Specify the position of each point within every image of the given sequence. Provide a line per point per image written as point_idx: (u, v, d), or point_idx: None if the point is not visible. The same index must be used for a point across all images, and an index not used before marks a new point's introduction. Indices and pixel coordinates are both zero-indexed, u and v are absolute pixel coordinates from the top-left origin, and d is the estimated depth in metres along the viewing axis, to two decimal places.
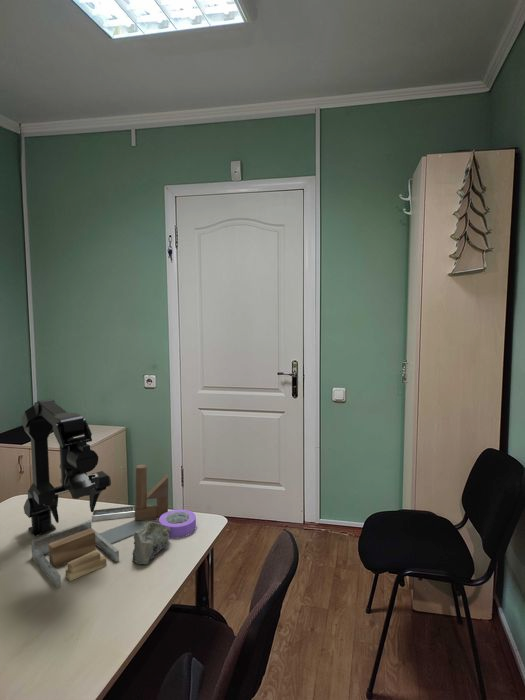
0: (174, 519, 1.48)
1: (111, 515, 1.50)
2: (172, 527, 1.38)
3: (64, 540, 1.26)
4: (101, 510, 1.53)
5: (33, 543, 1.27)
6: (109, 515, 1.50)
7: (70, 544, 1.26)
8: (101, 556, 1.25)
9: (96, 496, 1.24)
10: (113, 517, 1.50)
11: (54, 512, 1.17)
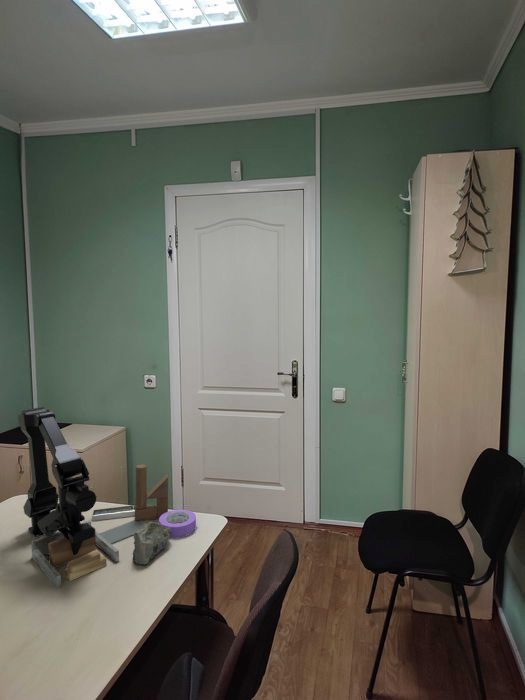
0: (174, 519, 1.48)
1: (111, 514, 1.51)
2: (172, 527, 1.38)
3: (65, 540, 1.26)
4: (101, 510, 1.53)
5: (33, 543, 1.27)
6: (109, 514, 1.50)
7: (70, 544, 1.26)
8: (101, 556, 1.25)
9: (70, 542, 1.25)
10: (113, 516, 1.51)
11: None
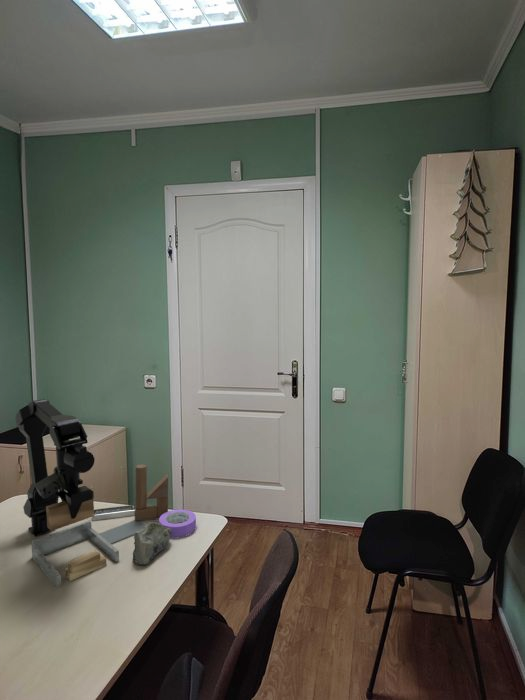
0: (174, 519, 1.48)
1: (111, 514, 1.51)
2: (172, 527, 1.38)
3: (62, 503, 1.25)
4: (101, 509, 1.53)
5: (33, 543, 1.27)
6: (109, 514, 1.51)
7: (68, 507, 1.25)
8: (101, 556, 1.25)
9: (68, 505, 1.24)
10: (113, 516, 1.51)
11: None
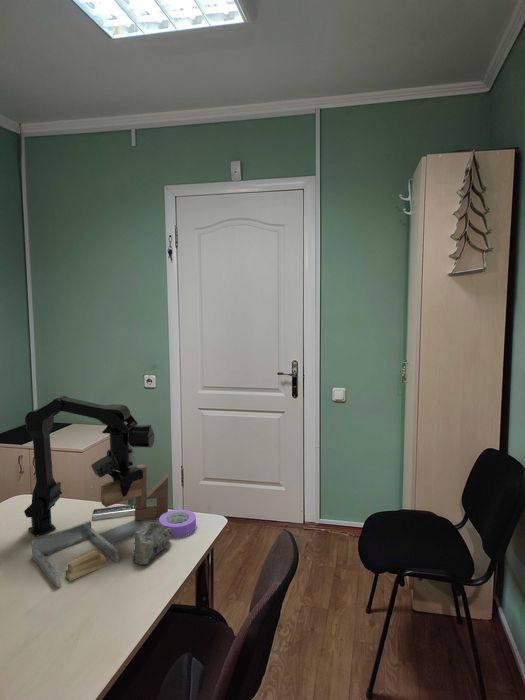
0: (174, 519, 1.48)
1: (111, 514, 1.51)
2: (172, 527, 1.38)
3: (115, 482, 1.38)
4: (101, 509, 1.53)
5: (33, 543, 1.27)
6: (110, 513, 1.51)
7: (119, 486, 1.38)
8: (101, 556, 1.25)
9: (121, 484, 1.37)
10: (113, 516, 1.51)
11: None
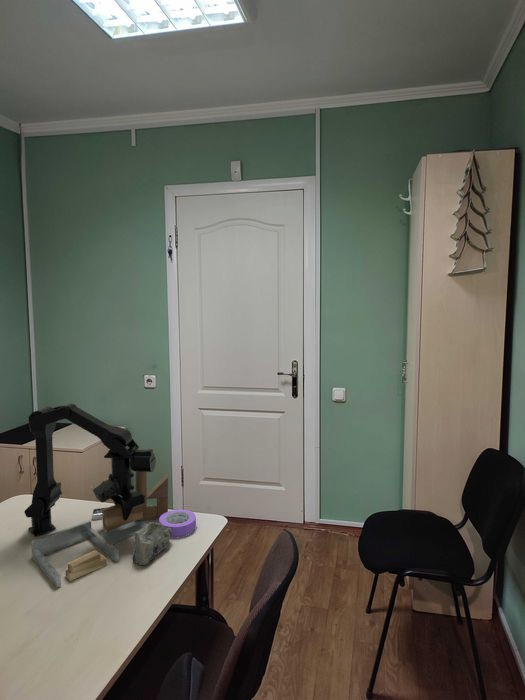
0: (174, 519, 1.48)
1: None
2: (172, 527, 1.38)
3: (116, 506, 1.40)
4: (101, 509, 1.53)
5: (33, 543, 1.27)
6: None
7: (121, 510, 1.39)
8: (101, 556, 1.25)
9: (122, 508, 1.38)
10: None
11: None
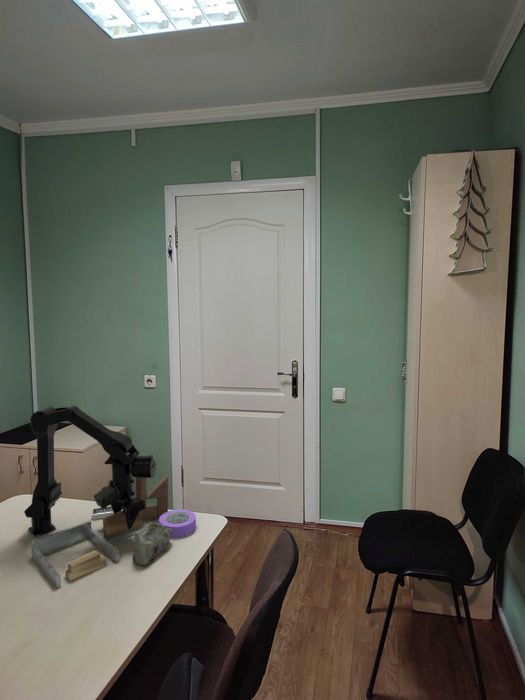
0: (174, 519, 1.48)
1: (111, 513, 1.52)
2: (172, 527, 1.38)
3: (117, 515, 1.40)
4: (101, 509, 1.54)
5: (33, 543, 1.27)
6: (110, 513, 1.51)
7: (121, 518, 1.39)
8: (101, 556, 1.25)
9: (126, 516, 1.37)
10: None
11: (112, 509, 1.44)
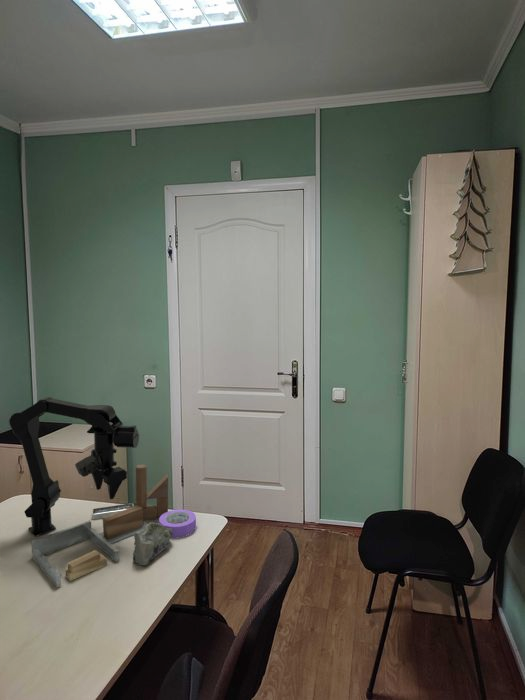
0: (174, 519, 1.48)
1: (111, 513, 1.52)
2: (172, 527, 1.38)
3: (117, 515, 1.40)
4: (100, 508, 1.54)
5: (33, 543, 1.27)
6: (110, 512, 1.52)
7: (121, 518, 1.39)
8: (101, 556, 1.25)
9: (108, 486, 1.36)
10: None
11: None
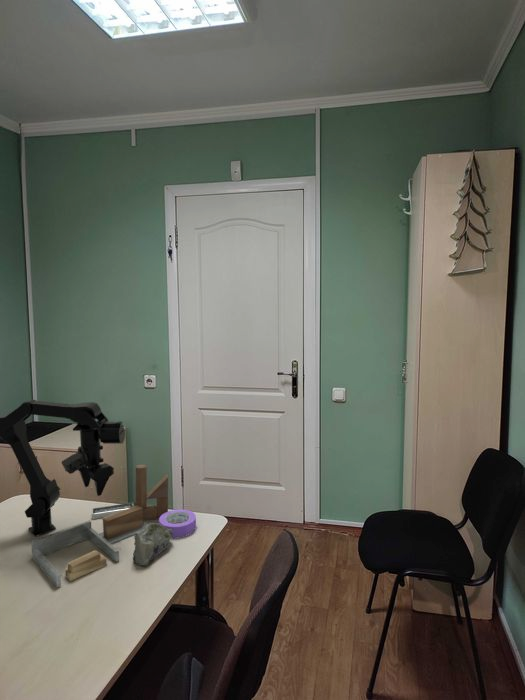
0: (174, 519, 1.48)
1: (111, 512, 1.52)
2: (172, 527, 1.38)
3: (117, 515, 1.40)
4: (100, 508, 1.54)
5: (33, 543, 1.27)
6: (110, 512, 1.52)
7: (121, 518, 1.39)
8: (101, 556, 1.25)
9: (95, 483, 1.37)
10: None
11: (81, 476, 1.45)
